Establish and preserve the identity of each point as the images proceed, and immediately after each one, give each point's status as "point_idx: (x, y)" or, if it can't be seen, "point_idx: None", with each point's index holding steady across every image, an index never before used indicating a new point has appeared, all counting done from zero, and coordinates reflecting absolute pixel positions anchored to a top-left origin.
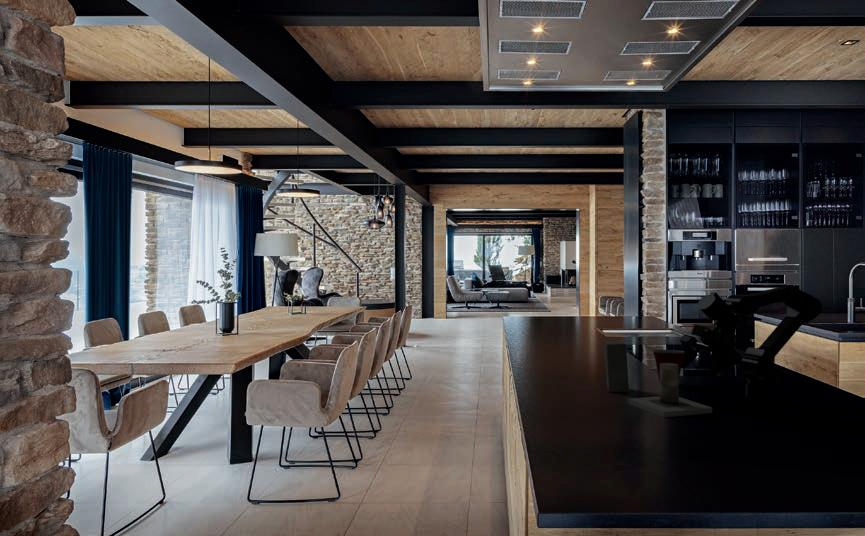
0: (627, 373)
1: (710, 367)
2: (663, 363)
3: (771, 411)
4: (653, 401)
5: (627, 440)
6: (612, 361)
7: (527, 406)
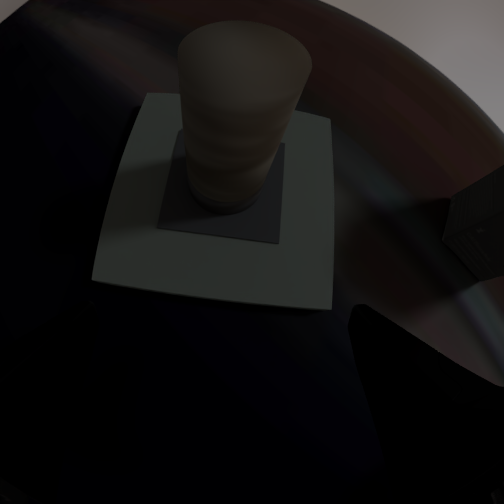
0: (486, 217)
1: (46, 337)
2: (297, 53)
3: (62, 474)
4: None
5: (106, 10)
6: None
7: (345, 13)
